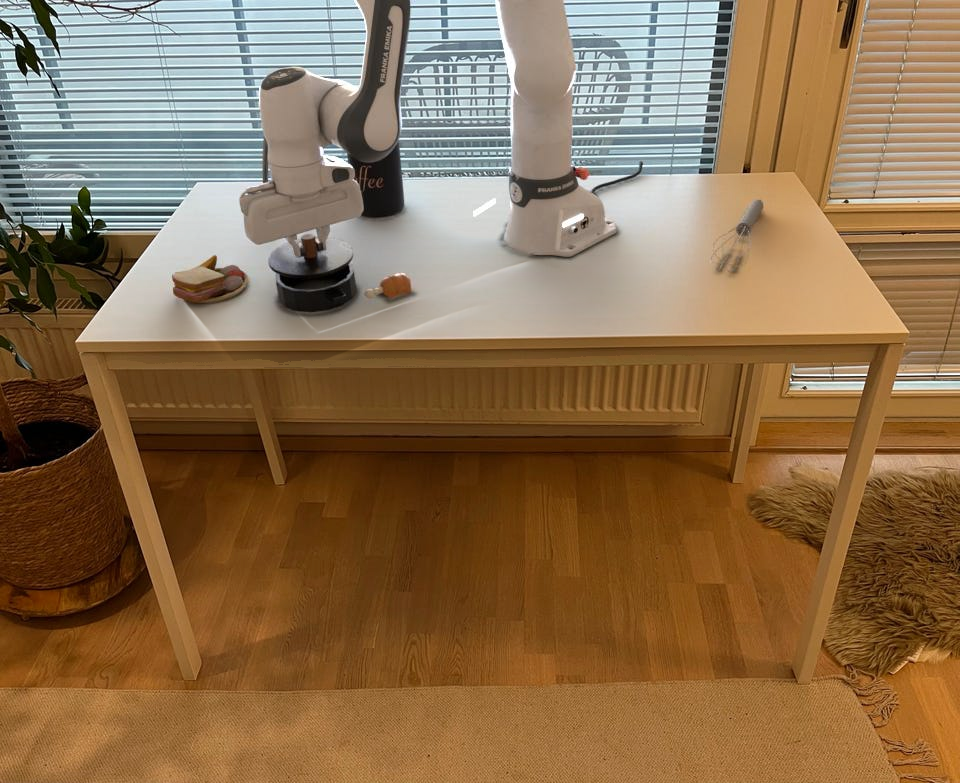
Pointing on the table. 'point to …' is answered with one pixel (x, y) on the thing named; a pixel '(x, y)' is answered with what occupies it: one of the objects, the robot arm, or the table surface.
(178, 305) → the table surface
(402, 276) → the chicken leg
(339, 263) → the lid
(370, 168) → the coffee jar
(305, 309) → the pan
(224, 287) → the toy sandwich meal
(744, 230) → the kitchen whisk
